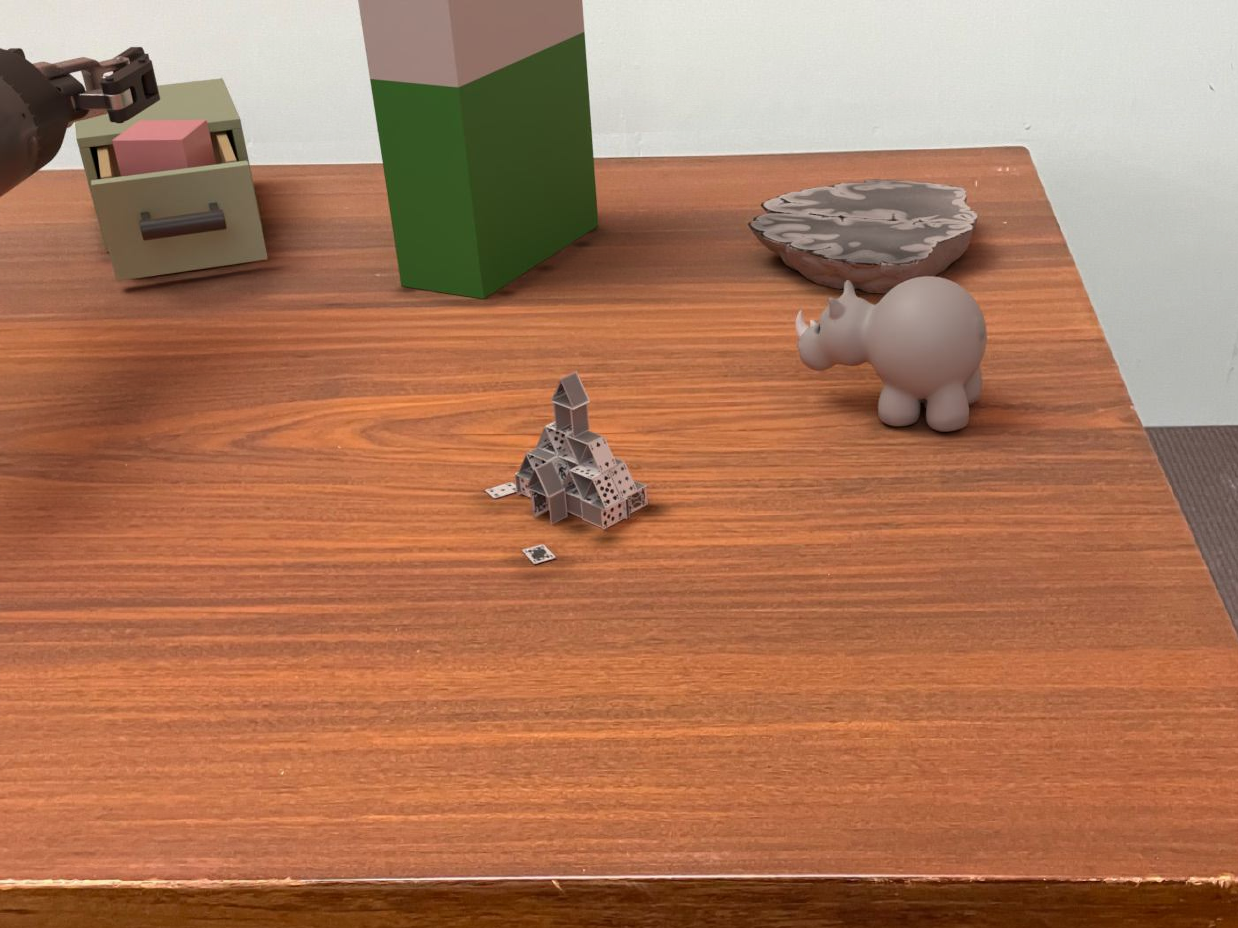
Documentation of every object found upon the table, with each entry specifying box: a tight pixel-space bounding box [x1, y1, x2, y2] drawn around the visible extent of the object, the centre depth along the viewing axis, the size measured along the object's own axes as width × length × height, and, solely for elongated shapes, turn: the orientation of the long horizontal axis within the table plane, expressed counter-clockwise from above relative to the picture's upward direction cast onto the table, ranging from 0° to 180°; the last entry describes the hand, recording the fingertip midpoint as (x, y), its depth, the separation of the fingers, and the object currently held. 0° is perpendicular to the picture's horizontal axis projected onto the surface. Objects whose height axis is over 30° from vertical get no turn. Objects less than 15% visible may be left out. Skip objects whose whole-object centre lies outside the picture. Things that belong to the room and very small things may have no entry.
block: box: [112, 120, 216, 177], centre depth 119 cm, size 6×6×8 cm
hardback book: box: [357, 0, 599, 300], centre depth 114 cm, size 18×7×24 cm, turn 154°
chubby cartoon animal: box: [794, 276, 988, 433], centre depth 93 cm, size 7×12×8 cm, turn 67°
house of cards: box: [484, 370, 649, 565], centre depth 84 cm, size 9×9×8 cm
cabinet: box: [74, 77, 264, 253], centre depth 129 cm, size 15×13×9 cm
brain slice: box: [747, 178, 979, 294], centre depth 117 cm, size 20×17×3 cm
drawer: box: [91, 131, 269, 282], centre depth 119 cm, size 18×11×7 cm, turn 20°
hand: (81, 63), depth 105 cm, fingers open, 8 cm apart
